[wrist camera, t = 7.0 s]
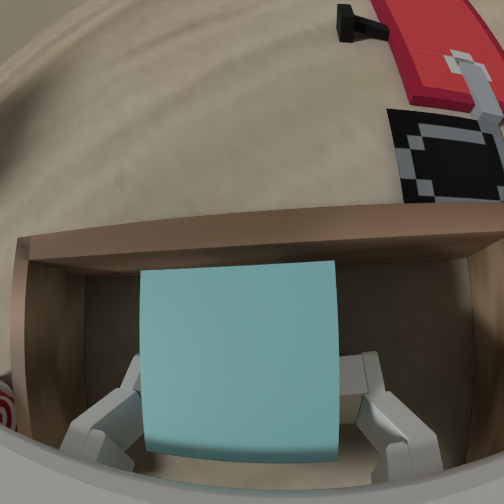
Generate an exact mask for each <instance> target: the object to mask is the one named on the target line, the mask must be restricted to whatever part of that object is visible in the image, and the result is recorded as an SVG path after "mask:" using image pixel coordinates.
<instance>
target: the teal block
mask: <svg viewBox="0 0 504 504" xmlns="http://www.w3.org/2000/svg"><path fill="white" fill-rule="evenodd" d="M140 376H141V397H142V412H143V426H144V437H145V447H146V451H150V452H156V453H162V454H168V455H174V456H181V457H189V458H197V459H206V460H217V461H229V462H246V463H315V462H332V461H338V444H339V334H338V310H337V291H336V275H335V262H334V261H319V262H302V263H284V264H266V265H248V266H229V267H209V268H188V269H167V270H144V271H141V278H140Z"/></svg>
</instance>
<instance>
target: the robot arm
mask: <svg viewBox="0 0 504 504" xmlns="http://www.w3.org/2000/svg"><path fill="white" fill-rule="evenodd" d="M349 423H356V425H357V426H358V427H359V429H360V430H361V431H362V432H363V434H364V435H365V436H366V438H367V439H368V440H369V441H370V443H371V444H372V445H373V446H374V448H375V449H376V450H377V452H378V453H379V454H380V455H381V458H380V460H379V462H378V463H377V465H376V467H375V469H374V470H373V472H372V473H371V480H372V484H370V485H363V486H354V487H344V488H331V489H314V490H256V489H239V488H226V487H216V486H207V485H199V484H192V483H185V482H179V481H173V480H167V479H162V478H157V477H152V476H147V475H143V474H138V473H134V472H132V471H133V468H134V464H135V463H134V461H133V460H132V459H131V458H130V457H129V456H128V455H127V454H126V453H125V451H126V450H127V449H128V448H129V447H130V446H131V445H132V444H133V443H134V442H135V441H136V440H137V439H138V438H139V437H140V436H141V435H142V434H143V433H144V426H143V412H142V397H141V376H140V353H137V354H136V355H135V356H134V357H133V359H132V361H131V364H130V366H129V368H128V370H127V373H126V375H125V377H124V380H123V382H122V384H121V386H120V388H116V389H114V390H113V391H112V392H110V393H109V394H108V395H106V396H105V397H104V398H102V399H101V400H100V401H98V402H97V403H96V404H95V405H93V406H92V407H91V408H89V409H88V410H87V411H85V412H84V413H83V414H81V415H80V416H79V417H77V418H76V419H75V420H73V421H72V422H71V424H70V426H69V429H68V431H67V433H66V435H65V437H64V440H63V442H62V444H61V447H60V449H56V448H53V447H51V446H48V445H46V444H43V443H41V442H38V441H36V440H34V439H31V438H29V437H27V436H25V435H22V434H20V433H18V432H16V431H14V430H12V429H10V428H8V427H6V426H4V425H2V424H0V504H504V451H502V452H499V453H496V454H493V455H491V456H488V457H485V458H482V459H479V460H476V461H473V462H470V463H467V464H463V465H460V466H457V467H453V468H450V469H446V470H443V465H442V460H441V455H440V450H439V445H438V440H437V436H436V434H435V433H434V432H433V431H432V430H431V429H430V428H429V427H428V426H427V425H426V424H425V423H424V422H422V421H421V420H420V419H419V418H418V417H417V416H416V415H415V414H414V413H413V412H412V411H411V410H410V409H409V408H408V407H406V406H405V405H404V404H403V403H402V402H401V401H400V400H399V399H398V398H397V397H396V396H395V395H394V394H393V393H392V392H391V391H386V390H385V385H384V380H383V375H382V371H381V366H380V362H379V357H378V353H377V352H376V351H370V352H361V353H360V352H356V353H346V354H339V424H349Z"/></svg>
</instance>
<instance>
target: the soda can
mask: <svg viewBox="0 0 504 504" xmlns="http://www.w3.org/2000/svg"><path fill="white" fill-rule="evenodd" d="M0 424H2V425H4V426H6V427H8V428H10V429H12V430H14V431H16V432H18V428H17V422H16V414H15V406H14V397H13V392H12V390H11V389H10V388H9V386H8V385H7V384H6V383H5V382H4V381H2V380H1V379H0Z"/></svg>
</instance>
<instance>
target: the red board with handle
mask: <svg viewBox="0 0 504 504" xmlns="http://www.w3.org/2000/svg"><path fill="white" fill-rule="evenodd" d="M370 1H371V3H372V5H373V7H374V10H375V12H376V14H377V16H378V19H379V21H380V23H379V22H376V21H373V20H369V19H366V18H363V17H359V16H356V15H354V13H353V10H352V8H351V5H349V4H337V26H336V29H337V33H338V37H339V41H340V42H348V43H353V34H354V31H355V32H359V33H363V34H366V35H369V36H373V37H376V38H379V39H382V40H386V41H388V43H389V45H390V48H391V50H392V53H393V56H394V58H395V61H396V64H397V67H398V70H399V72H400V75H401V78H402V81H403V84H404V87H405V91H406V94H407V97H408V100H409V104H411V105H420V106H428V107H436V108H443V109H449V110H456V111H462V112H467V113H470V115H471V117H472V119H467V118H461V117H455V116H448V115H441V114H434V113H426V112H417V111H408V110H397V109H386V110H387V114H388V118H389V123H390V127H391V132H392V136H393V141H394V146H395V151H396V157H397V162H398V168H399V174H400V180H401V186H402V193H403V200H404V204H409V203H456V202H504V139H503V136H502V133H501V131H500V128H499V125H498V124H499V123H500V122H501V120H504V50H503V49H502V47H501V46H500V44H499V43H498V41H497V39H496V38H495V36H494V35H493V33H492V32H491V31H490V29H489V28H488V26H487V25H486V23H485V22H484V21H483V19H482V18H481V16H480V15H479V14H478V12H477V11H476V10H475V8H474V7H473V6H472V5H471V3H470V2H469V1H468V0H370Z"/></svg>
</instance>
